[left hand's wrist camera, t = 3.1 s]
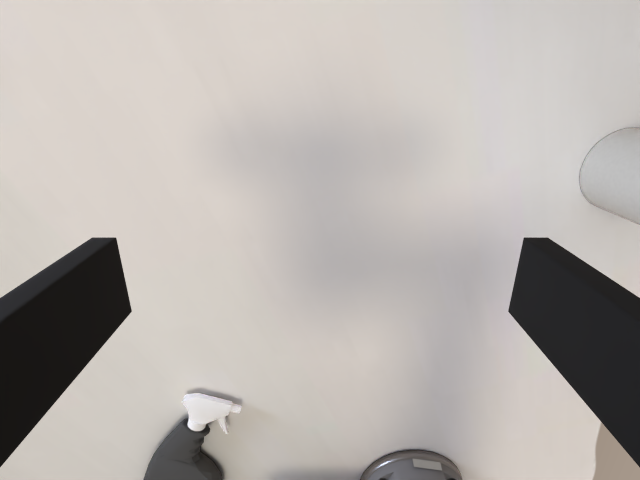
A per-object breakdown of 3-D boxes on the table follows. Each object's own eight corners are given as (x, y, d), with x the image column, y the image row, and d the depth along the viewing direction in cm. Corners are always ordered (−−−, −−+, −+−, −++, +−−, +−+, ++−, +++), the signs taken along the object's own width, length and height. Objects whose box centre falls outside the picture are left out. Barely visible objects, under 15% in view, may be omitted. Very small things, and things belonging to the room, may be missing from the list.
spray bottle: (139, 501, 58) (173, 378, 50) (210, 518, 59) (254, 400, 51) (130, 522, 55) (164, 395, 47) (204, 538, 56) (250, 418, 48)
